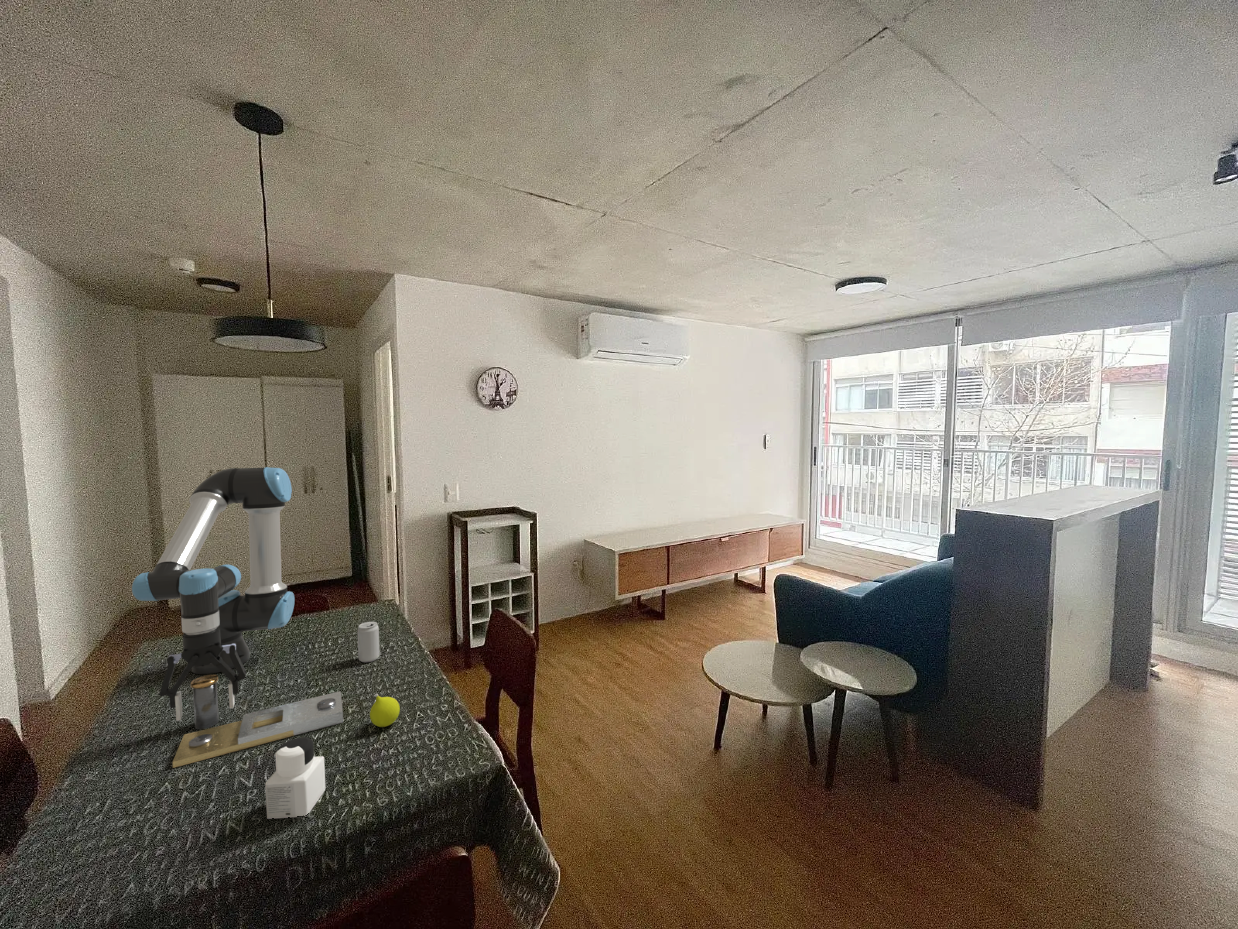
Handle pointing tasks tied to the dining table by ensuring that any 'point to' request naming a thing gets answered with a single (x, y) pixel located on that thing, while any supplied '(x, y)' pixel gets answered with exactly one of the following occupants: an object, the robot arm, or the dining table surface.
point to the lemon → (384, 711)
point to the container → (295, 780)
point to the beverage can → (368, 642)
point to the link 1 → (220, 742)
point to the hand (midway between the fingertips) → (206, 712)
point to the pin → (205, 701)
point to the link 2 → (294, 717)
